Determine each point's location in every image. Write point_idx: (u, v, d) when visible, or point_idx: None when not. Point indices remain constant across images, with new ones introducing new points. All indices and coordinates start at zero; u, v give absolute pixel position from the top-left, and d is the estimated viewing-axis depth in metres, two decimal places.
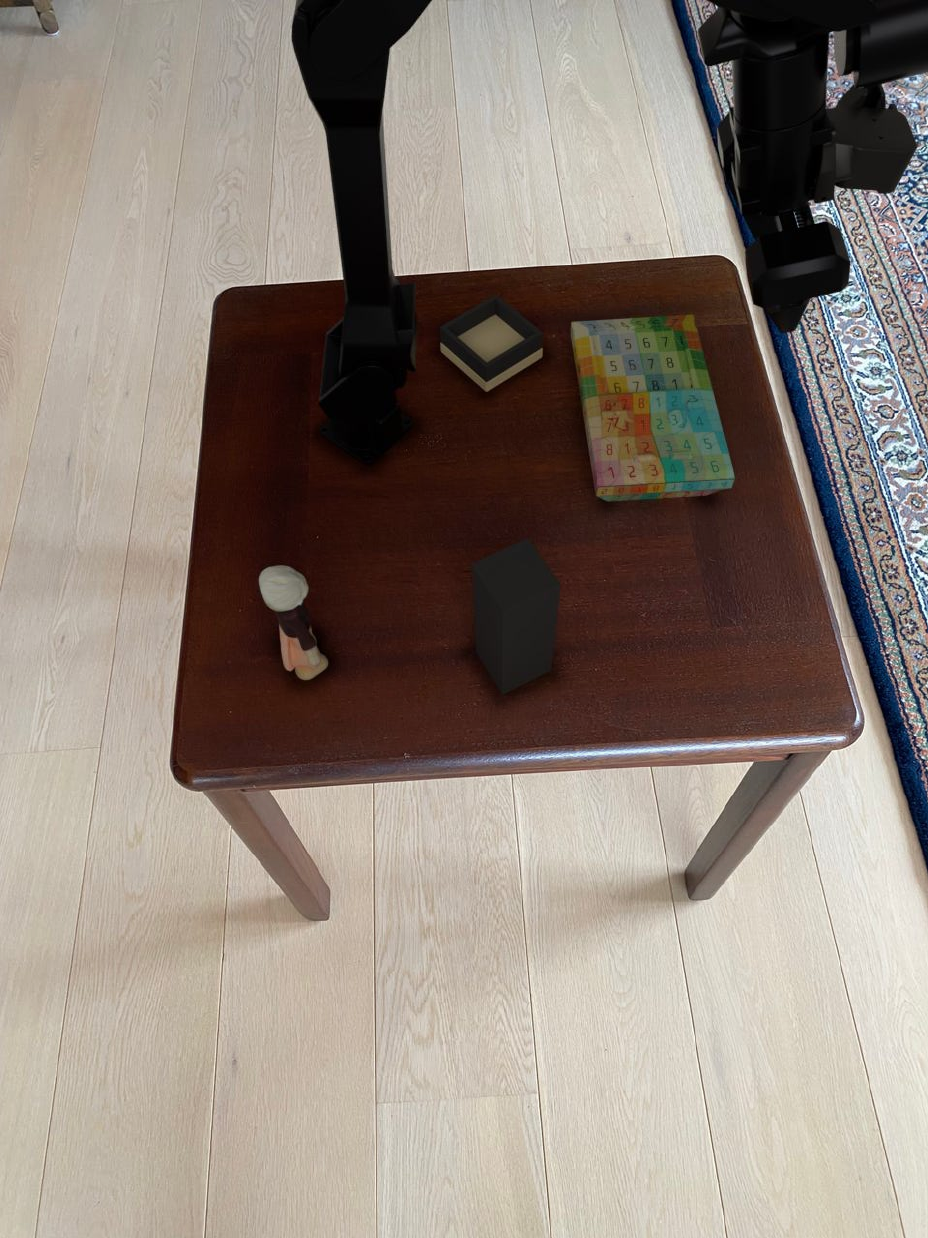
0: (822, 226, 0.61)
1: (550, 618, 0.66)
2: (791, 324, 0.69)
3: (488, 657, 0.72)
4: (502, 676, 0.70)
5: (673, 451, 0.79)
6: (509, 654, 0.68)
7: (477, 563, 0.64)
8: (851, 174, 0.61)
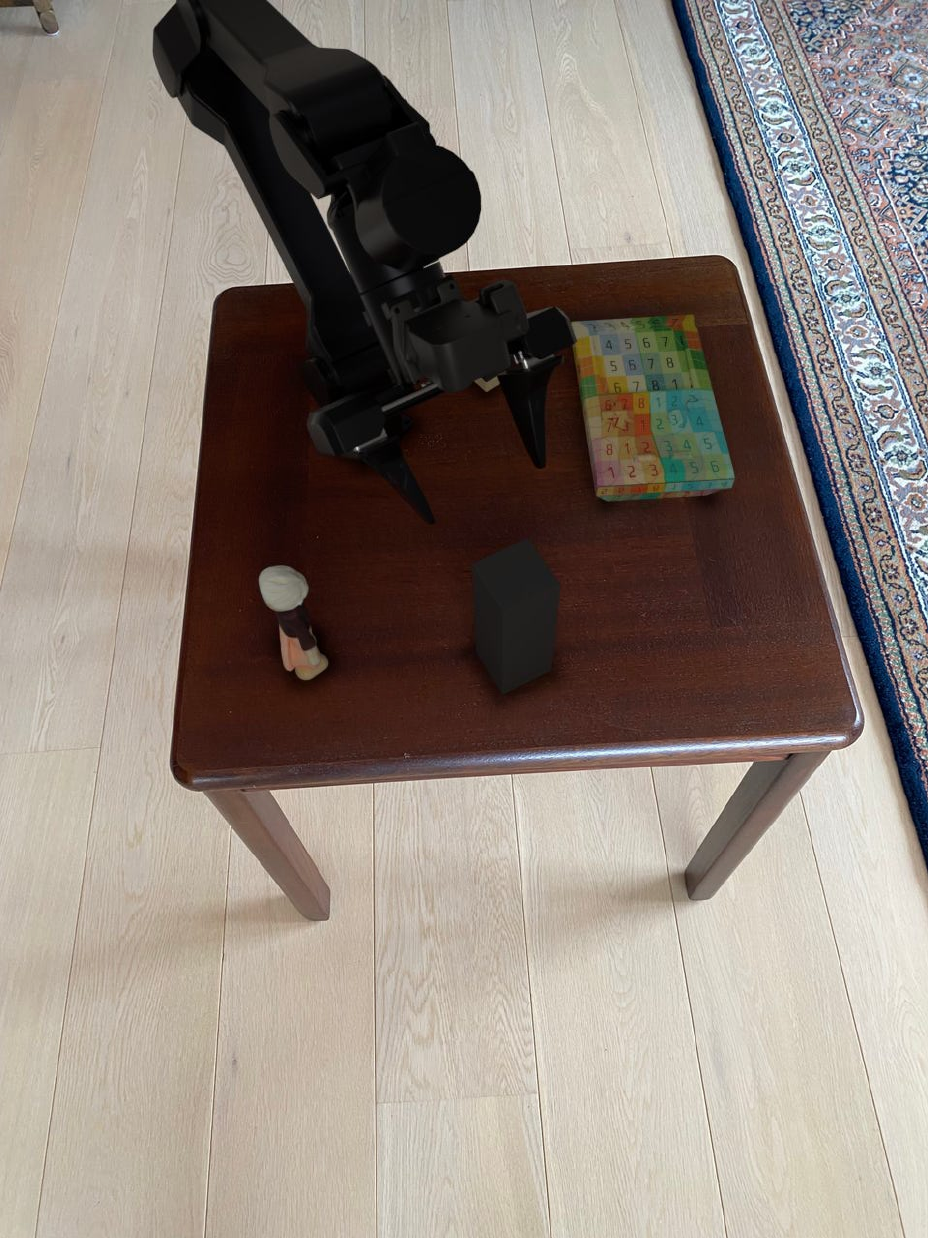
0: (362, 393, 0.59)
1: (550, 618, 0.66)
2: (419, 512, 0.64)
3: (488, 657, 0.72)
4: (502, 676, 0.70)
5: (673, 451, 0.79)
6: (509, 654, 0.68)
7: (477, 563, 0.64)
8: (410, 357, 0.57)
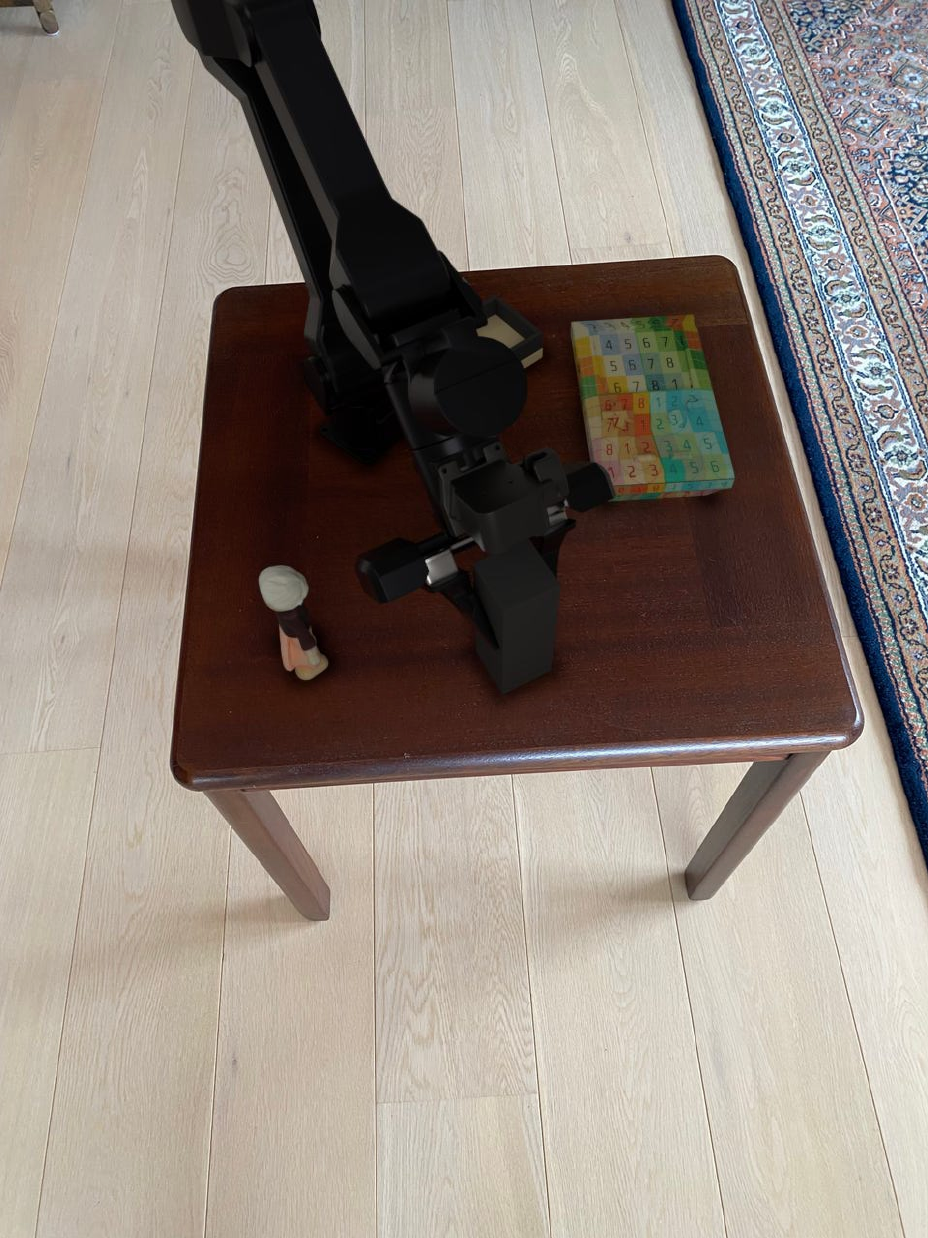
0: (407, 545, 0.62)
1: (550, 618, 0.66)
2: (484, 638, 0.67)
3: (488, 657, 0.72)
4: (502, 676, 0.70)
5: (673, 451, 0.79)
6: (509, 654, 0.68)
7: (477, 563, 0.64)
8: (454, 516, 0.60)
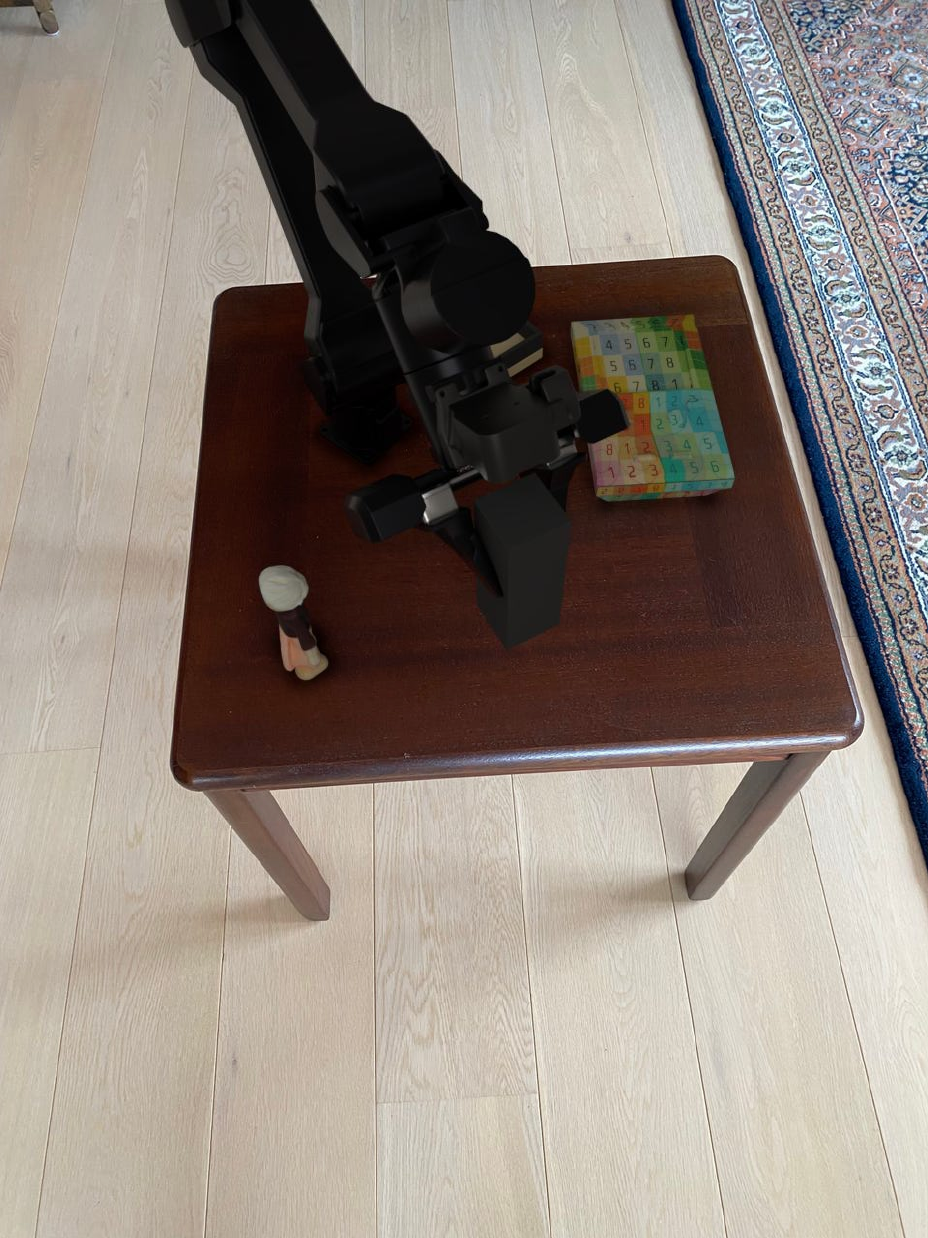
0: (402, 478, 0.56)
1: (559, 561, 0.60)
2: (487, 585, 0.61)
3: (491, 609, 0.66)
4: (507, 629, 0.64)
5: (673, 451, 0.79)
6: (515, 602, 0.62)
7: (479, 499, 0.58)
8: (454, 443, 0.54)
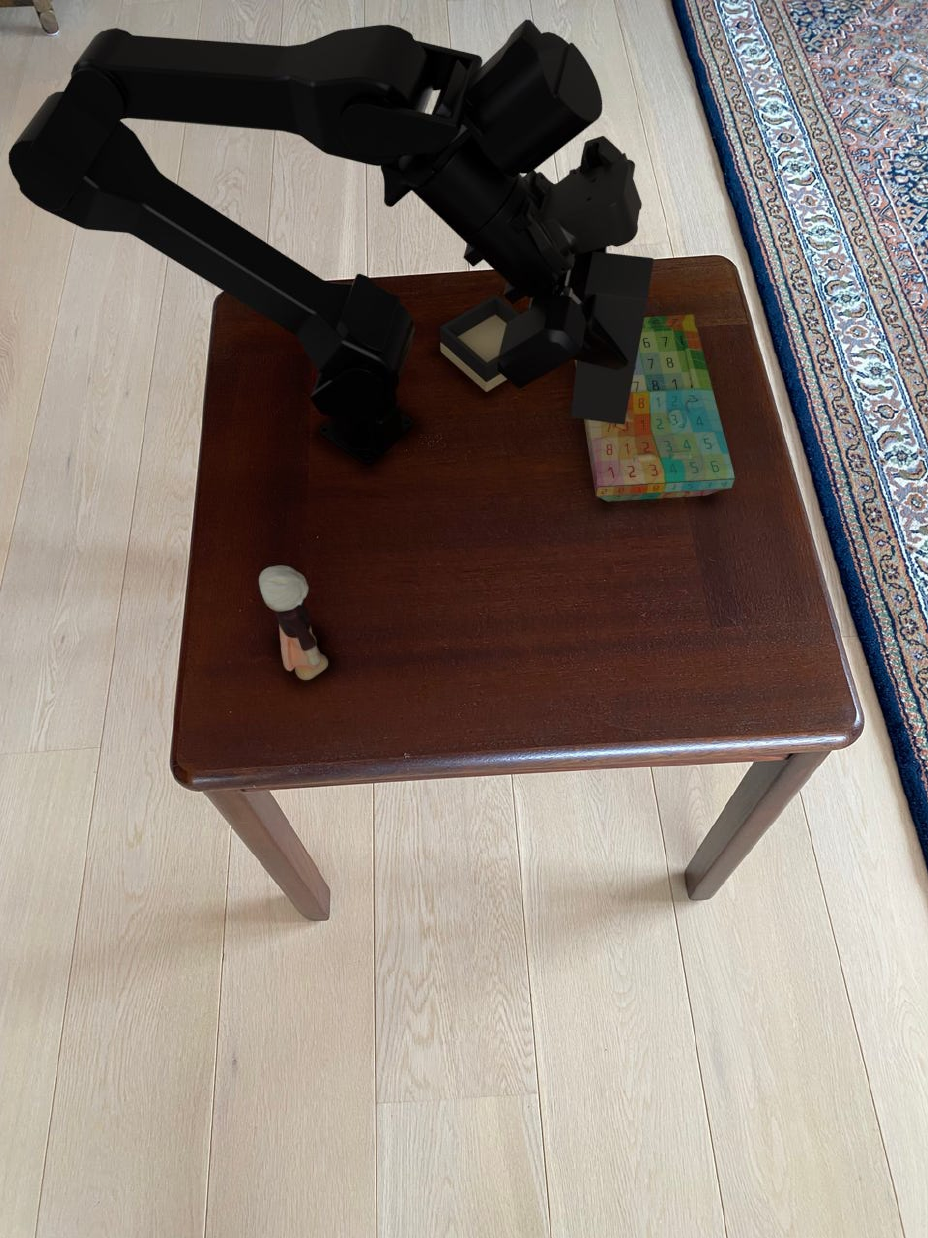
0: (547, 301, 0.62)
1: None
2: (615, 361, 0.70)
3: (600, 398, 0.74)
4: (628, 397, 0.74)
5: (673, 451, 0.79)
6: None
7: (587, 289, 0.66)
8: (570, 242, 0.62)
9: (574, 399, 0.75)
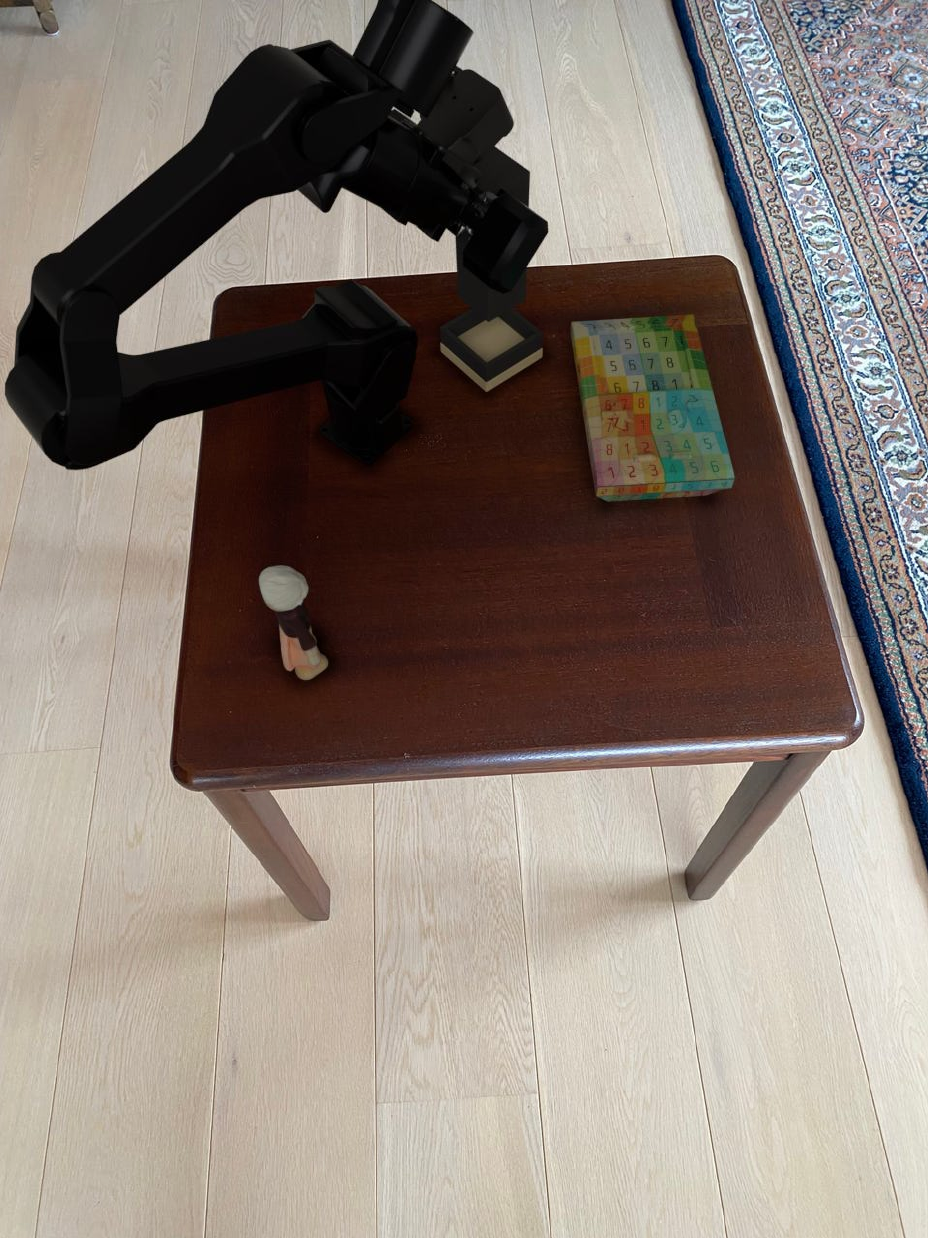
0: (495, 206, 0.69)
1: None
2: None
3: None
4: (525, 272, 0.83)
5: (673, 451, 0.79)
6: None
7: None
8: (478, 151, 0.68)
9: (489, 302, 0.82)
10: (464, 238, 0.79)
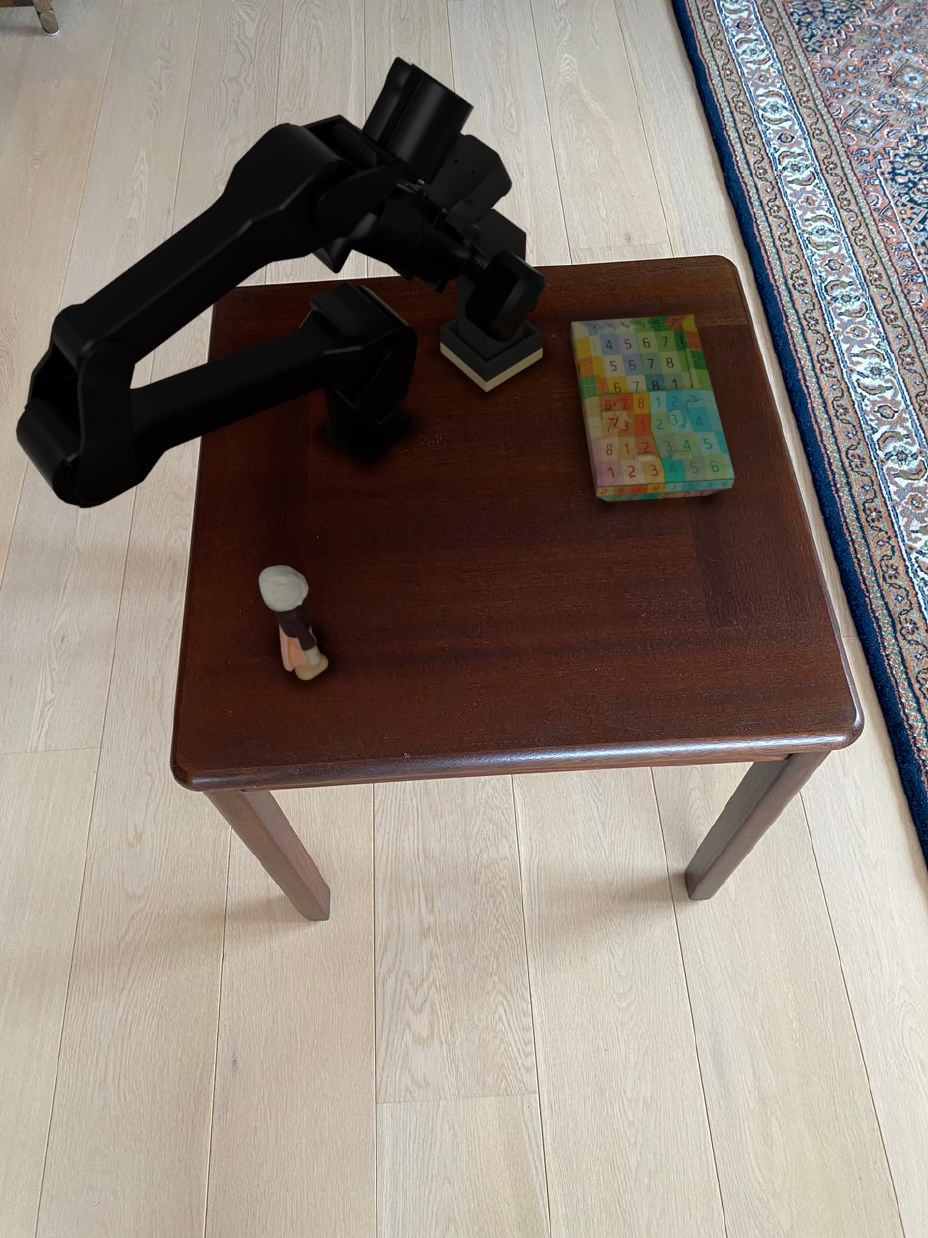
0: (495, 262, 0.73)
1: None
2: None
3: None
4: (523, 321, 0.88)
5: (673, 451, 0.79)
6: None
7: (485, 252, 0.78)
8: (478, 212, 0.73)
9: (489, 351, 0.87)
10: (464, 292, 0.84)
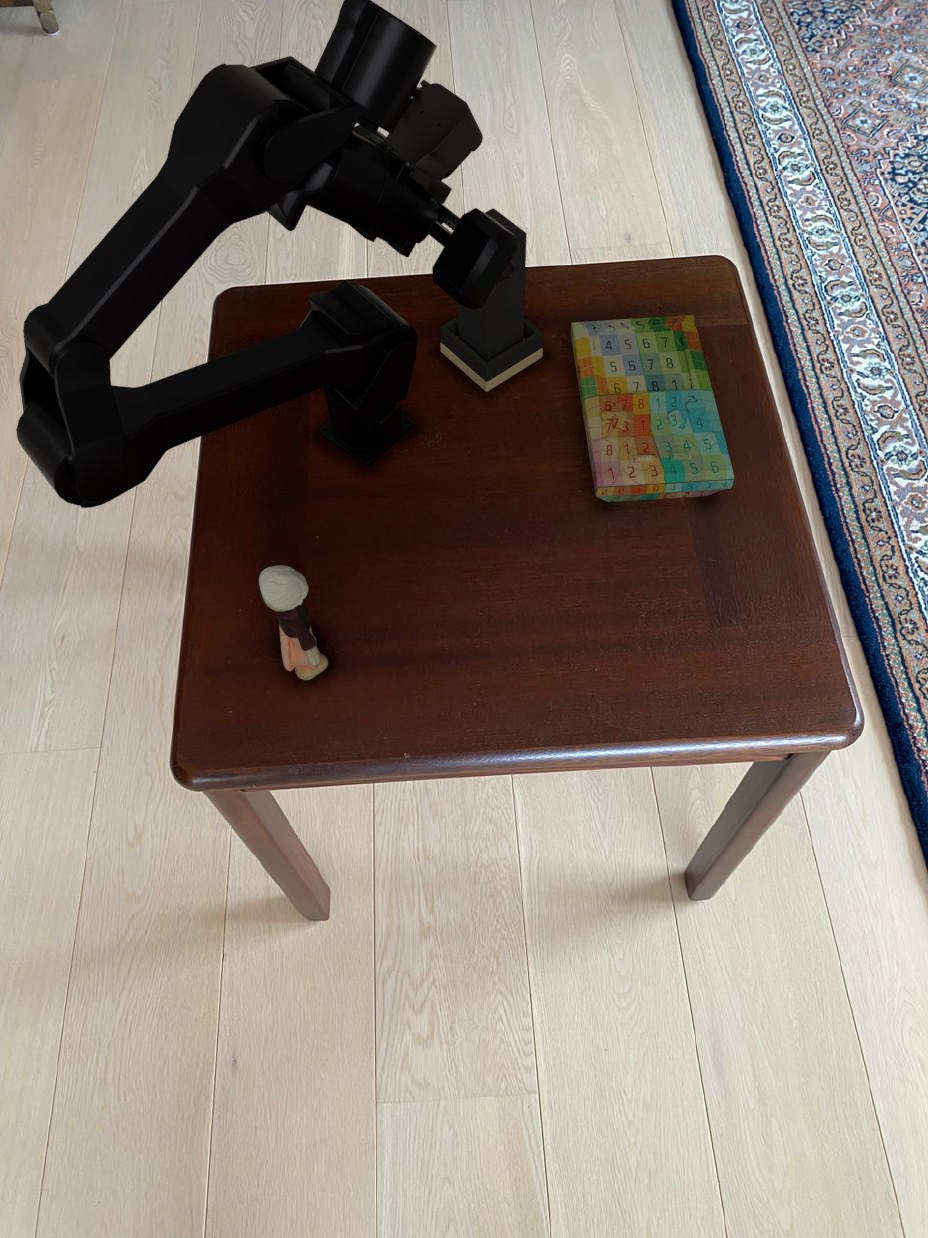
0: (463, 222, 0.68)
1: None
2: (509, 270, 0.76)
3: (505, 337, 0.87)
4: (523, 321, 0.88)
5: (673, 452, 0.80)
6: None
7: None
8: (446, 167, 0.68)
9: (489, 351, 0.87)
10: None
